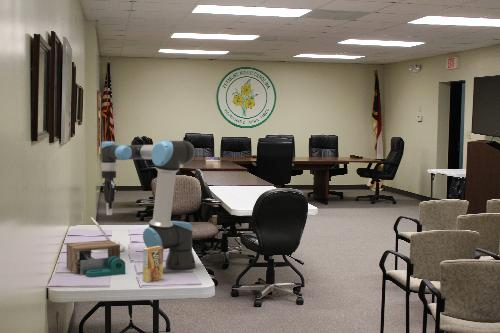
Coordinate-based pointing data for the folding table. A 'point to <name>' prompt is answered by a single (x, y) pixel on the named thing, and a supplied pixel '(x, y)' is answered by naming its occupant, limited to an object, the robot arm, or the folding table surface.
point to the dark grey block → (90, 262)
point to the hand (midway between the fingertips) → (109, 214)
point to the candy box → (152, 263)
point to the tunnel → (86, 246)
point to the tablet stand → (107, 239)
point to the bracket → (109, 268)
